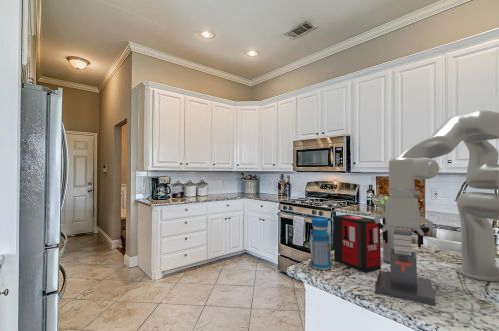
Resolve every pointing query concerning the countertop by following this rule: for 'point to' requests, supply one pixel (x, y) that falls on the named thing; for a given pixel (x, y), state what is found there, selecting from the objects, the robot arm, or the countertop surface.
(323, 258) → the beverage bottle
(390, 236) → the travel mug
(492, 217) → the robot arm
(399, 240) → the post
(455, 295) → the countertop surface
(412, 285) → the stand
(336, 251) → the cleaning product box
